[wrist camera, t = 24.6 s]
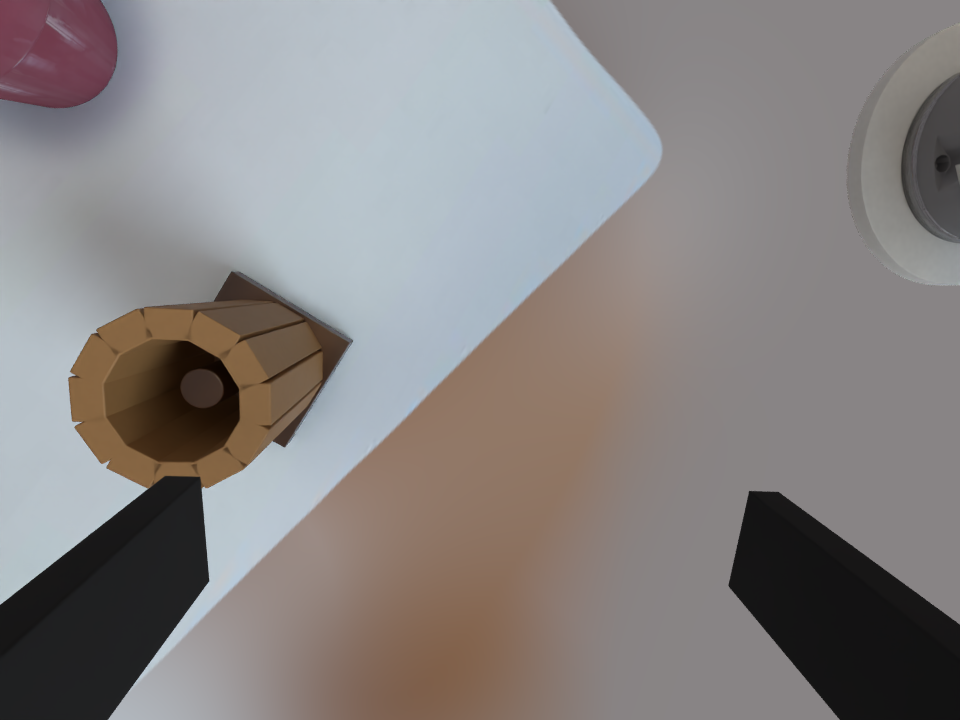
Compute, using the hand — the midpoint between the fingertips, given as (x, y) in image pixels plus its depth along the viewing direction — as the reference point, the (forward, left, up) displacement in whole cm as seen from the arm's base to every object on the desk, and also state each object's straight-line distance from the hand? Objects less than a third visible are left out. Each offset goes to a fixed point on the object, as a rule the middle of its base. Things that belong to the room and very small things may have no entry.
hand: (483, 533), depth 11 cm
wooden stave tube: (+12, +8, -26) cm, 30 cm away
